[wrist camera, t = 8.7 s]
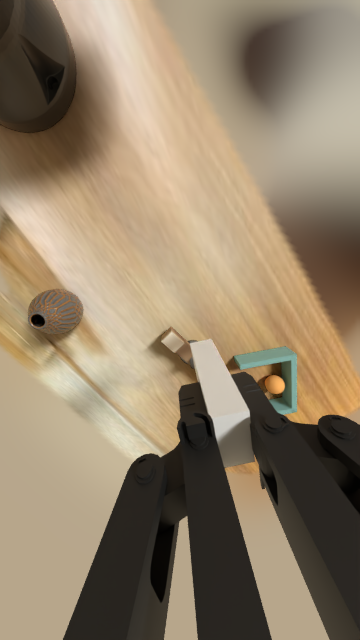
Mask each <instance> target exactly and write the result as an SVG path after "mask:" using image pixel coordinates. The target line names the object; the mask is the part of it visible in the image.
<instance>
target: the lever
mask: <svg viewBox="0 0 360 640" xmlns="http://www.w3.org/2000/svg"><path fill="white" fill-rule="evenodd" d="M161 342H162V343H163V344H164V345H166V346H167V347H168V348H169V349H170V350H171V351H172V352H173V353H175V352H176V353H177V354H178V355H179V356H180V357H181V358H182V359H184V360H185V361H186V362H187V363H188V364H189V365H190V366H191V367H192V368H193V369H195V366H194V361H193V356H192V352H191V347H190V344H189V343H188V342H187V341H186V340H185V339H184V338H183V337H182V336H181V335H180V334H179V333H178V332H177V331H175V330H174V329H173V328H172V327H170V328H169V329H168V330H167V331H166V332H165V333H164V334H163V335H162V339H161Z"/></svg>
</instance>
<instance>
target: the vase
mask: <svg viewBox="0 0 360 640" xmlns="http://www.w3.org/2000/svg"><path fill="white" fill-rule="evenodd" d="M28 316H29V317H28V321H29V324H30V325H31V326H32V327H33V328H35V329H38V330H40V331H42V332H44V333H48V334H61V333H65V332H68V331H70V330H71V329H73V328H74V327H75V326H77V324H78V323H79V322H80V320H81V319H82V316H83V306H82V303H81V301H80V299H79V298H78V297H77V296H76V295H74V294H73V293H71V292H69V291H66V290H62V289H52V290H47V291H44V292H42V293H40V294H39V295H37V296H36V297H35V298H34V299H33V300H32V302H31V303H30V306H29V309H28Z"/></svg>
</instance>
